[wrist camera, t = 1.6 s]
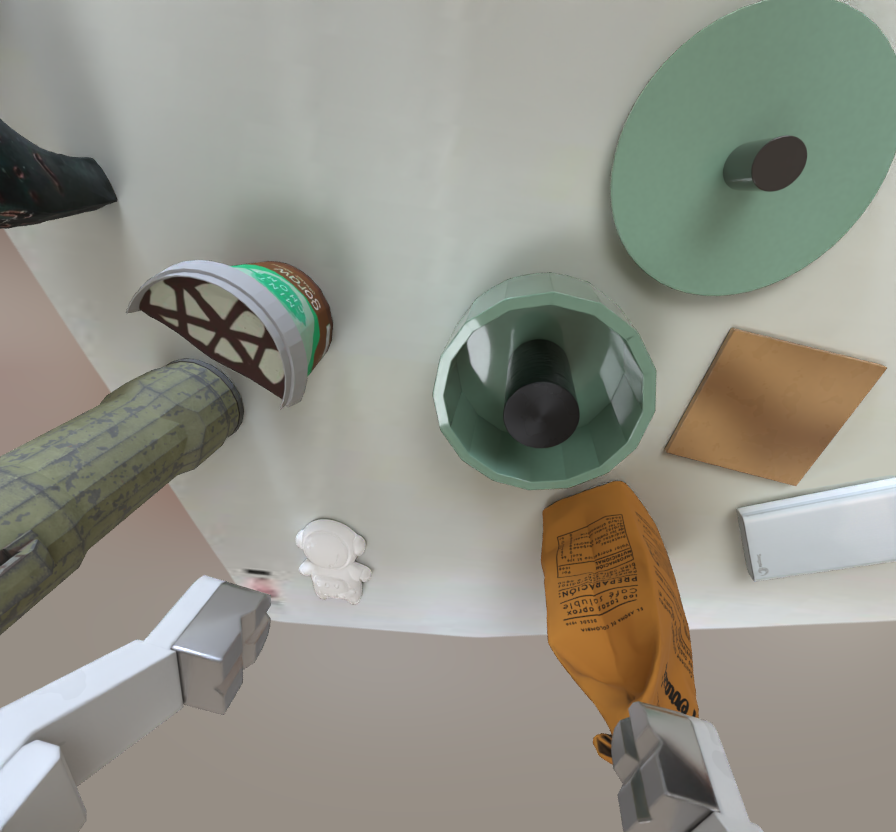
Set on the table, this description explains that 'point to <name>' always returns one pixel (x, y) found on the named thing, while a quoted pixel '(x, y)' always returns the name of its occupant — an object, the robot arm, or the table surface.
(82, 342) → the table surface
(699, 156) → the lid
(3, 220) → the teal patterned animal figure
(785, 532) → the hard drive
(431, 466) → the table surface
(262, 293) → the food container
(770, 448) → the trivet
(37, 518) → the grey-green stone column
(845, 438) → the table surface
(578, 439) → the pot
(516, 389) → the tin
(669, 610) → the coffee package
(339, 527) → the white flat figurine
